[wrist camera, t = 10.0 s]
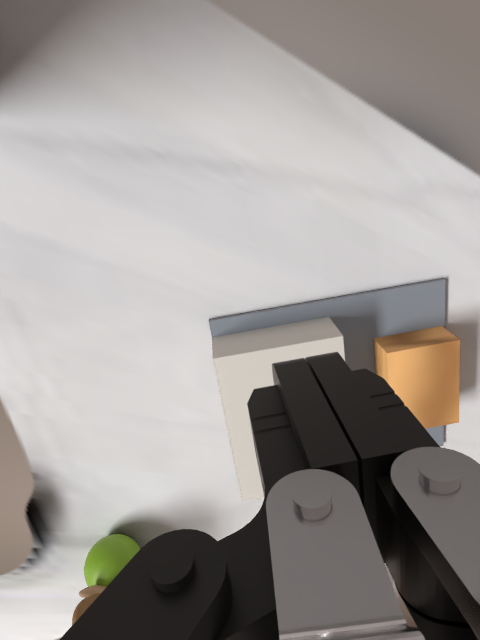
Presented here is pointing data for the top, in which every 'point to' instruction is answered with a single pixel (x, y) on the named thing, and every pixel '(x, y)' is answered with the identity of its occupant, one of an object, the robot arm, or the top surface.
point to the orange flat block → (423, 372)
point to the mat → (357, 320)
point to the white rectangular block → (261, 380)
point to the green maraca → (104, 567)
